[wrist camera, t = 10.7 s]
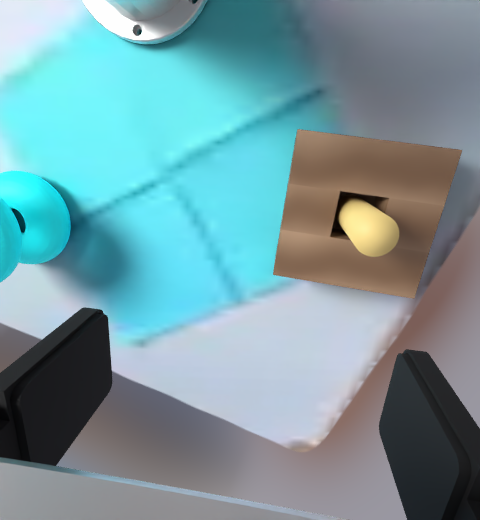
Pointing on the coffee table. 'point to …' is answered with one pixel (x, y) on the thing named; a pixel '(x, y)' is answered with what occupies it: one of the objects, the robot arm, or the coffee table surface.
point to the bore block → (373, 192)
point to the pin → (366, 226)
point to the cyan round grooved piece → (30, 221)
